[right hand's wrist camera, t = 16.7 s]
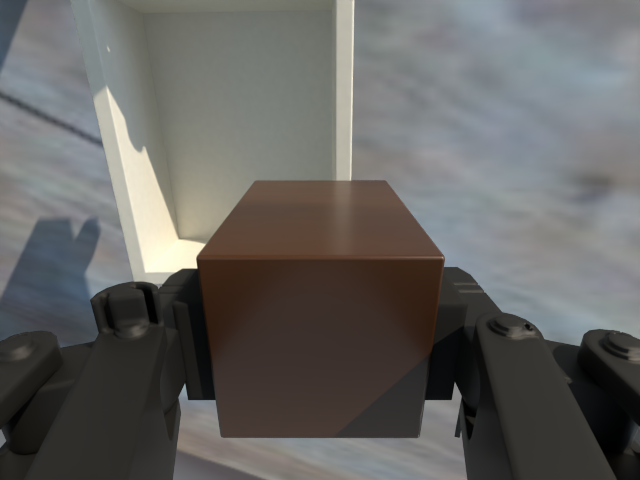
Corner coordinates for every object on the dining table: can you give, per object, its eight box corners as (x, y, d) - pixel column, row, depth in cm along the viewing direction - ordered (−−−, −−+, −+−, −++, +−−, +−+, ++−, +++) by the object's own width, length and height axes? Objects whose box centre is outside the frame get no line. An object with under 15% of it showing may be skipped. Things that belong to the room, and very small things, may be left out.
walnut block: (378, 295, 16) (420, 439, 9) (261, 295, 16) (219, 439, 9) (386, 179, 14) (446, 256, 7) (254, 179, 14) (194, 256, 7)
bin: (343, 243, 25) (349, 282, 20) (174, 245, 25) (133, 285, 20) (349, -334, 15) (364, -567, 10) (75, -327, 16) (-56, -554, 10)
